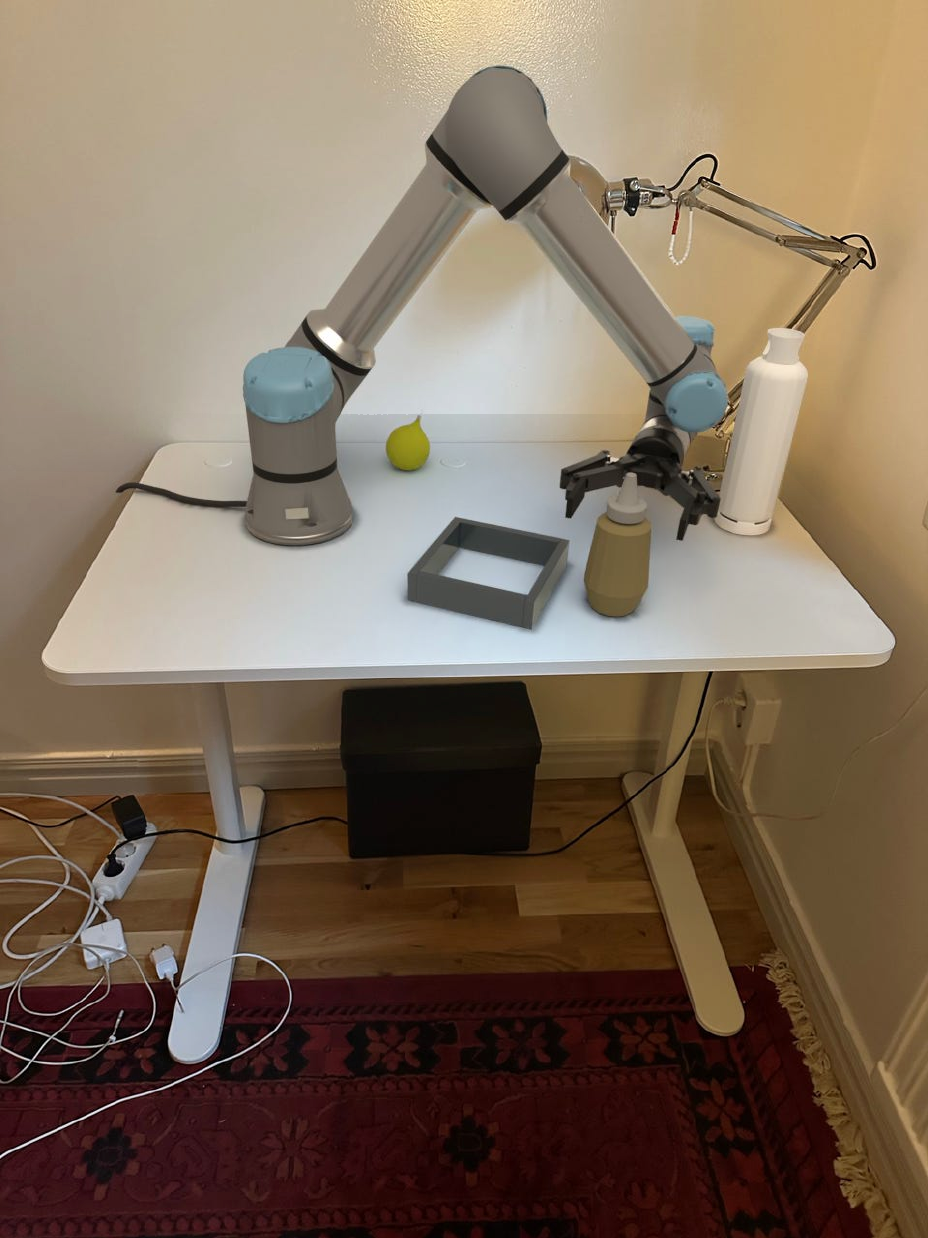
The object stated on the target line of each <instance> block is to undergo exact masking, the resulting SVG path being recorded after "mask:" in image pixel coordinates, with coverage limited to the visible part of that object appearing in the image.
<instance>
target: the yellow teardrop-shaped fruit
mask: <svg viewBox="0 0 928 1238" xmlns="http://www.w3.org/2000/svg"><path fill="white" fill-rule="evenodd" d="M422 414H423V410H421V413H420V414H418V415H417V417H416V419H415V420H414V421H413V422H412V423H409V424H404V425H401V426H398V427H397V428H395V429H393V430H392V432H391V433H390V434H389V435H388V437H387V439H386V442H385V453H386V456H387V459H388V460H389V461H390V462H391V464H392V465H393V466H395V467H396V468H398V469H400V470H403V471H413V470H417V469H418V468H420V467H422V466H423V465H425V463H426V462H427V460H428V458H429V456H430V453H431V451H430V450H431V444H430V440H429V438H428V436H427V434H426V433H425V432H424V430H423V428H422V426H421V419H422Z"/></svg>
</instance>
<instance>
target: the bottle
mask: <svg viewBox="0 0 928 1238" xmlns="http://www.w3.org/2000/svg"><path fill="white" fill-rule="evenodd" d="M805 336H806V334H805V333H804V332H802V331H800V330H796V329H793V328H786V327H773V328H769V329H767V332H766V337H767V343H766V346H765V348H764V350H763V352H762V353H761V356H758V357H756V358H754V359H753V360H751V361H749V363H748V365H746V367H745V368H746V369H745V374H744V378H743V382H742V387H741V391H740V396H739V401H738V407H737V411H736V415H735V420H734V425H733V429H732V434H731V438H730V443H729V448H728V453H727V457H726V462H725V465H724V466H725V467H724V471H723V476H722V480H721V486H720V489H719V493H718V495H719V497H720V498H721V500H720V505H719V510H718V514H717V517H716V518H713V521H714V523H715V524H716V526H718V527H719V528H721V529H722V530H725V531H726V532H729V533H733V534H736V535H741V536H759V535H763V534H765V533H767V532H768V531H769V530H770V528H771V524H772V520H773V515H774V512H775V507H776V504H777V500H778V496H779V492H780V489H781V485H782V480H783V477H784V474H785V470H786V469H785V468H786V465H787V461H788V457H789V453H790V449H791V446H792V441H793V438H794V434H795V430H796V426H797V422H798V418H799V414H800V410H801V406H802V402H803V399H804V395H805V391H806V387H807V382H808V378H809V372H808V369H807V368H806V367H805V365H804V364H803V363H802V362H801V361H800V356H799V350H800V348H801V345H802V343H804V340H805Z"/></svg>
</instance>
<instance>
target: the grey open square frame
mask: <svg viewBox="0 0 928 1238" xmlns="http://www.w3.org/2000/svg"><path fill="white" fill-rule="evenodd" d="M570 544H571V543H570V539H565V538H561V537H556V536H551V535H547V534H542V533H536V532H532V531H527V530H522V529H517V528H512V527H507V526H503V525H497V524H493V523H488V522H483V521H477V520H473V519H467V518H463V517H458V516H454V518H453V519H451V521H450V522H449V523H448V525H447V526H446V527H445V528H444V529H443V531H442V532H441V533H440V534H439V535H438V536H437V538H436V539H435V540H434V541H433V542H432V543H431V545H430V546H429V547H428V548H427V550H425V552H424V553H423V554H422V556H420V557H419V559H418V560H417V561H416V563H414V565H413V566H412V567H411V569H410V570H409V571H408V572H407V573H406V574H407V577H406V578H407V601H408V602H413V603H418V604H422V605H426V606H430V607H435V608H439V609H444V610H447V611H452V612H455V613H460V614H465V615H468V616H472V617H476V618H482V619H486V620H490V621H494V622H498V623H503V624H507V625H511V626H516V627H518V628H519V627H520V628H523V629H524V628H525V629H529V630H532V629H533V628H534V626H535V624H536V622H537V620H538V619H539V617H540V615H541V613H542V612H543V610H544V608H545V607H546V605H547V602H548V601H549V599H550V597H551V595H552V594H553V592H554V589H555V588H556V586H557V585H558V583H559V581H560V579H561V577H562V575H563V574H564V572H565V571H566V568H567V566H568V561H569V550H570ZM459 548H460V549H465V550H471V551H474V552H479V553H484V554H487V555H488V554H489V555H494V556H498V557H503V558H507V559H512V560H517V561H521V562H526V563H530V564H535V565H539V566H544V567H543V568H542V570H541V572H540V574H539V575H538V576H537V578H536V580H535V582H534V584H533V585H532V587H531V588H530V590H529V592H528V594H525V593H521V592H516V591H512V590H507V589H504V588H503V589H502V588H500V587H499V588H498V587H494V586H491V585H490V586H489V585H485V584H480V583H476V582H472V581H467V580H463V579H459V578H453V577H449V576H445V575H441V574H440V573H441V571H442V570H443V569H444V568H445V566H446V565H447V564H448V562H450V560H451V559H452V557H453V556H454V555H455V554H456V553H457V551H458V550H459Z"/></svg>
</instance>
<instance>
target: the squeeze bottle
mask: <svg viewBox="0 0 928 1238" xmlns="http://www.w3.org/2000/svg"><path fill="white" fill-rule="evenodd" d="M623 479H624V478H623ZM638 487H639V486H637V475H636V474H635V473H627V474H626V476H625V479H624V482H623V484H622V487H621V488H620V489H619V492H618V494H616V495H613V496H611V497H610V498H609V499H608V500H607V503H606V511H605V512H604V513H601V515H600V516H598V517H597V520H596V523H595V529H594V532H593V536H592V540H591V544H590V547H589V548H590V549H589V552H588V556H587V561H586V565H585V569H584V574H583V584H584V588H585V592H586V596H587V600H588V604H589V605H590V607H591V609H592V610H594V611H595V612H596V613H598V614H600V615H601V614H602V615H605V616H609V617H615V618H616V617H618V618H619V617H625V616H628V615H630V614H633V612H634V611H635V610H636V608H637V607H638V605H639V603H640V602H641V600H642V598H643V597H644V596H645V593H646V592H647V590H648V588H649V581H650V580H649V579H650V560H651V559H650V558H651V543H652V542H651V540H652V522H650V520H649V518H647V516H646V514H647V509H648V505H647V502H646V501H645V500H644V499H642V498H640V497H639V489H638Z"/></svg>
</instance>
